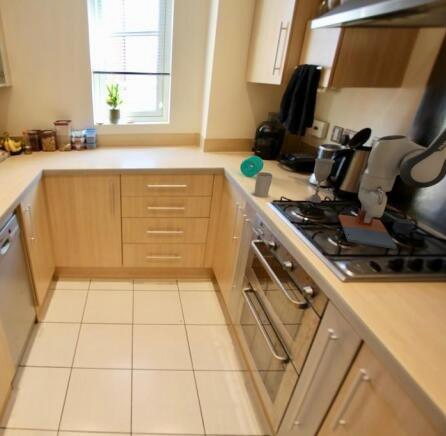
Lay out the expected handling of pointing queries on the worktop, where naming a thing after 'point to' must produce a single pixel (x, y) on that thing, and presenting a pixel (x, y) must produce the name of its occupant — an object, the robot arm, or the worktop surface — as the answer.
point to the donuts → (247, 167)
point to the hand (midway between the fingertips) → (364, 219)
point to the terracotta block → (361, 217)
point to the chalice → (321, 175)
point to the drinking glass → (262, 184)
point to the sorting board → (366, 232)
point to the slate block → (402, 226)
